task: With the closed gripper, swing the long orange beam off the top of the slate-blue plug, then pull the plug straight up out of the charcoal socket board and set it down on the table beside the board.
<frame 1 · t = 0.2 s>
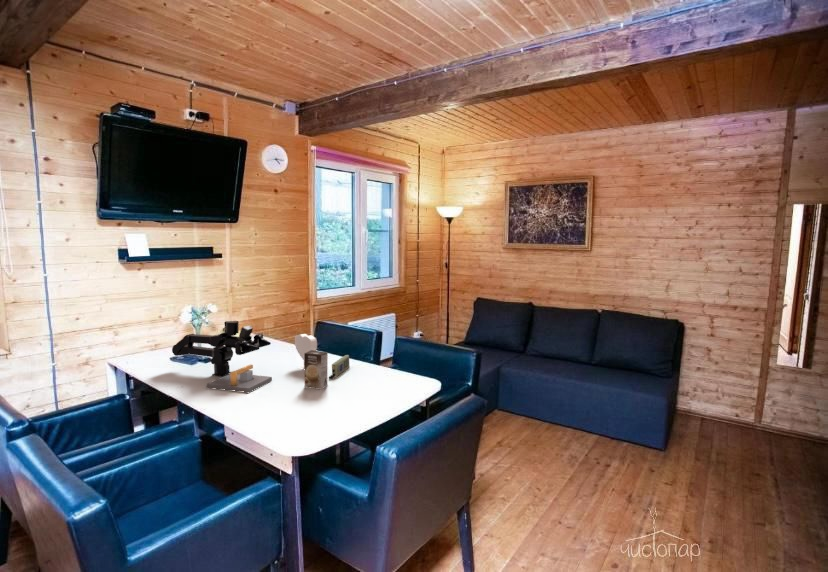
hand: (264, 345, 215), 16 cm above the table, tool horizontal, fingers open, 9 cm apart
coffee box: (316, 386, 206), on the table
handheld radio: (339, 373, 228), on the table
socket board: (240, 384, 208), on the table
long orange beam: (242, 374, 206), point 5 cm above the table, hinge at 0.0°
heart sculpture: (306, 368, 235), on the table
plug: (246, 383, 209), resting in socket board
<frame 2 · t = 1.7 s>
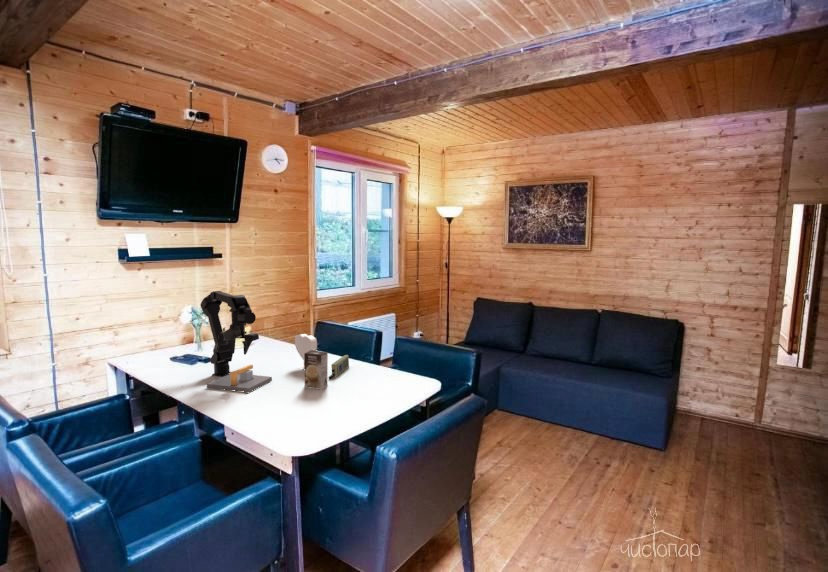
hand: (239, 354, 212), 13 cm above the table, tool pointing down, fingers open, 6 cm apart
nothing on the table moved.
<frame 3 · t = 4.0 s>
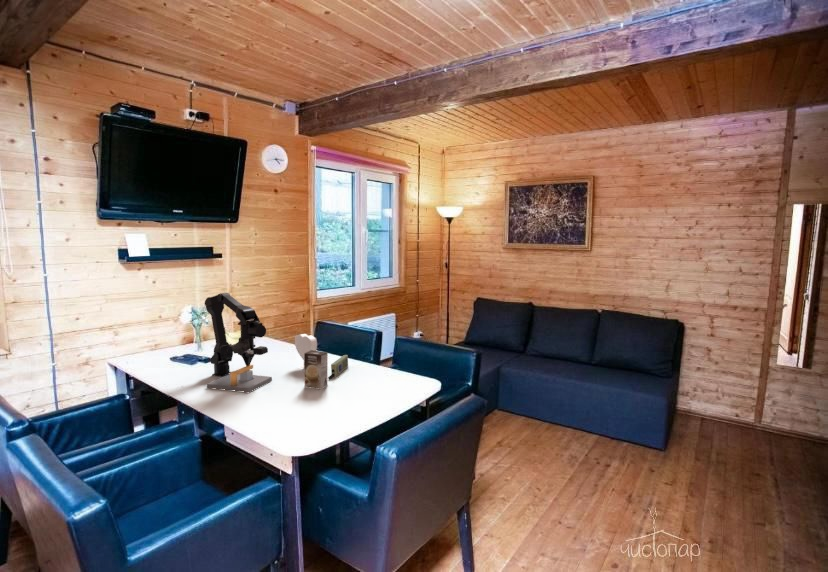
hand: (247, 367, 212), 7 cm above the table, tool pointing down, fingers closed
long orange beam: (242, 374, 206), point 5 cm above the table, hinge at 0.7°, touching gripper
everything else where it was.
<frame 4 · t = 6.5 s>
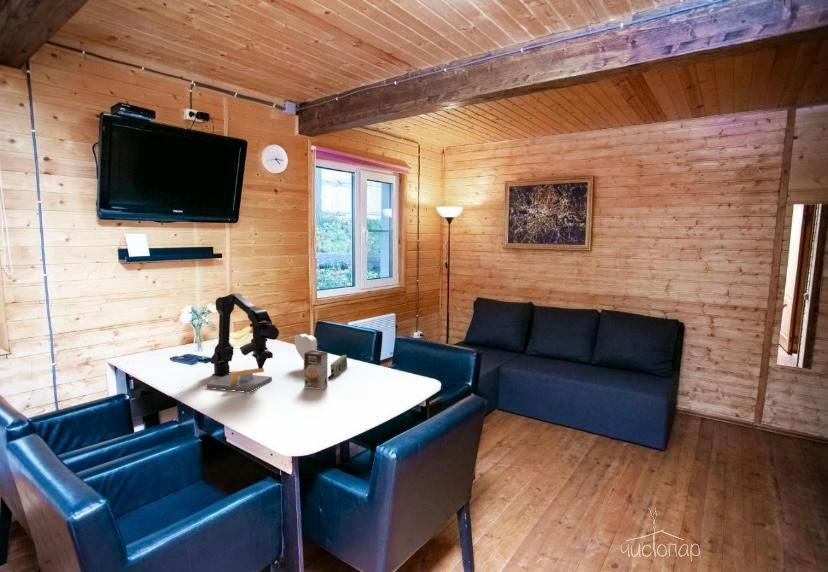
hand: (260, 369, 207), 7 cm above the table, tool pointing down, fingers closed
long orange beam: (247, 376, 203), point 5 cm above the table, hinge at 43.0°, touching gripper
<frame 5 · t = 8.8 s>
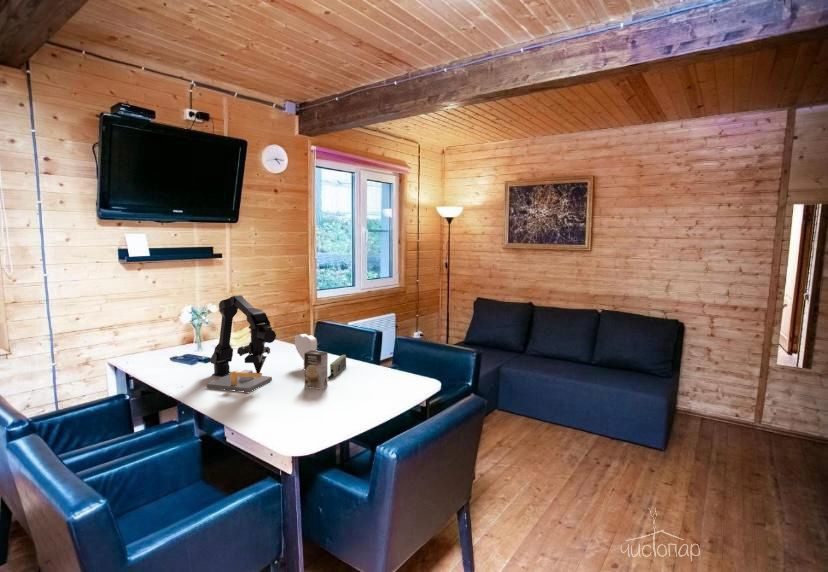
hand: (258, 373, 201), 7 cm above the table, tool pointing down, fingers closed
long orange beam: (246, 379, 199), point 5 cm above the table, hinge at 82.5°
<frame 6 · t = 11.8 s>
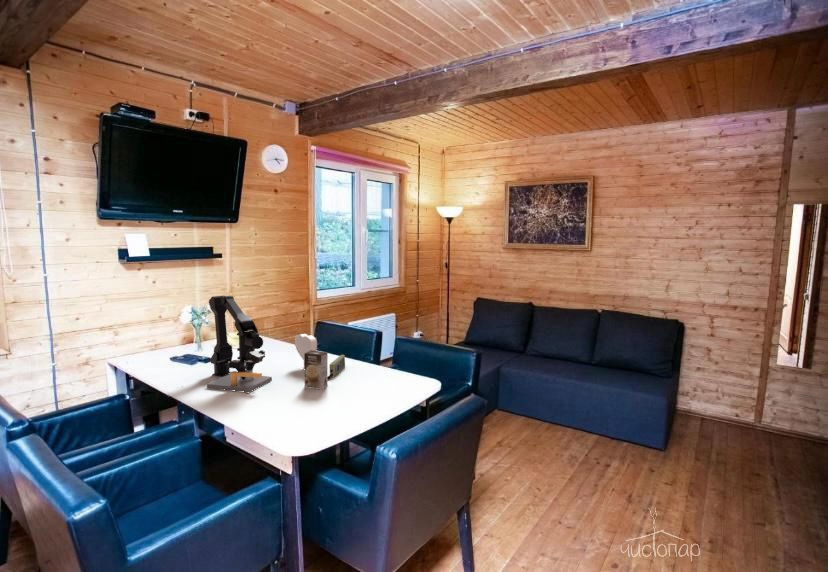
hand: (246, 378, 209), 3 cm above the table, tool pointing down, fingers closed on plug, 4 cm apart
long orange beam: (246, 379, 199), point 5 cm above the table, hinge at 82.8°
plug: (246, 383, 209), resting in socket board, touching gripper
when the fingers open (4 cm above the table, at t = 16.4 s): plug drops 2 cm, on the table.
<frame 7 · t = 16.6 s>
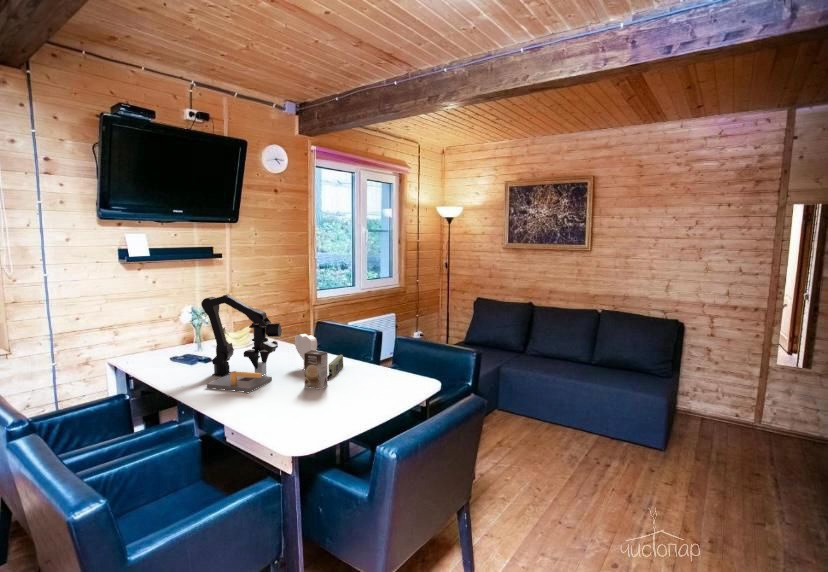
hand: (260, 367, 223), 4 cm above the table, tool pointing down, fingers open, 6 cm apart
plug: (260, 375, 223), on the table
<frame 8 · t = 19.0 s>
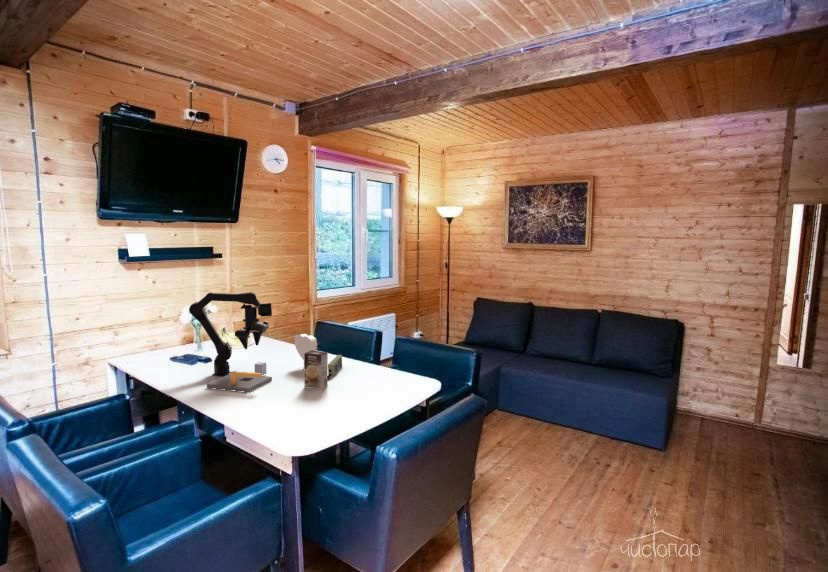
hand: (251, 347, 227), 13 cm above the table, tool pointing down, fingers open, 9 cm apart
at the end: long orange beam at +83° (first picture: +0°); plug inside the target area (0.0 cm from its centre), on the table; plug tilted 0° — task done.
